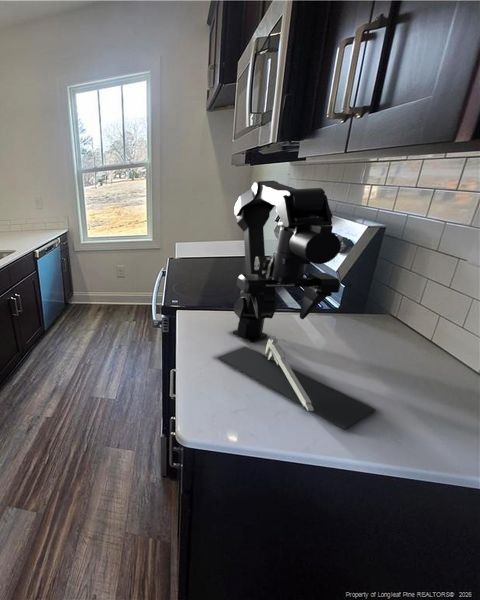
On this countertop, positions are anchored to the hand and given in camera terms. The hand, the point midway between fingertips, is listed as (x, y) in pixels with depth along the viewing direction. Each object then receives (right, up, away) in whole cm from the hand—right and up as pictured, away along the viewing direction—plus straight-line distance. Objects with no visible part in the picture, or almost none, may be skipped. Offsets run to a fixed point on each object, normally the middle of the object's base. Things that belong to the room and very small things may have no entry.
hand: (279, 318), depth 72 cm
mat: (0, -14, -2) cm, 14 cm away
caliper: (0, -14, -3) cm, 14 cm away
